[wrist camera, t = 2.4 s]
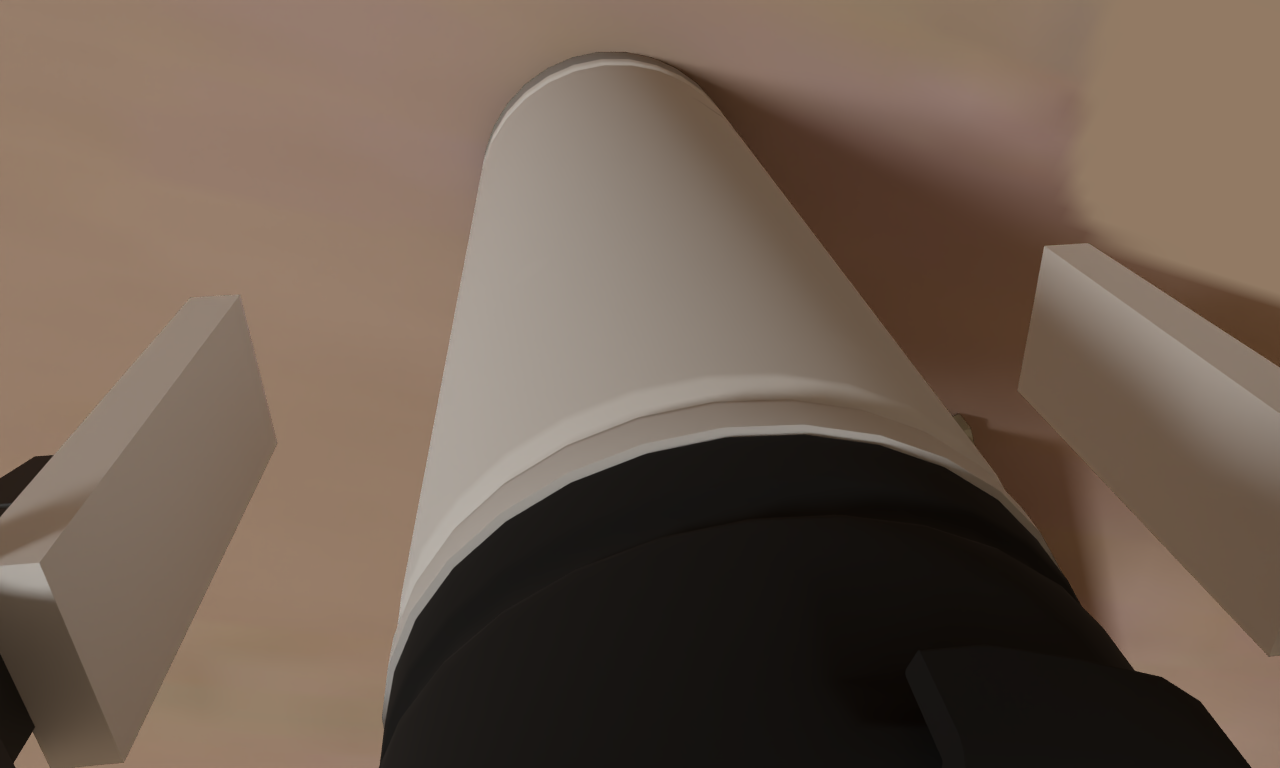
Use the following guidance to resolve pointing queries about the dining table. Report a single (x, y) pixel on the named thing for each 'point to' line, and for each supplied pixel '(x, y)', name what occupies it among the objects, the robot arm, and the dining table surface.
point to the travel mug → (718, 493)
